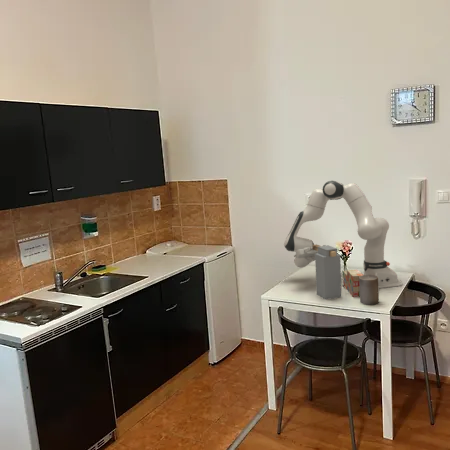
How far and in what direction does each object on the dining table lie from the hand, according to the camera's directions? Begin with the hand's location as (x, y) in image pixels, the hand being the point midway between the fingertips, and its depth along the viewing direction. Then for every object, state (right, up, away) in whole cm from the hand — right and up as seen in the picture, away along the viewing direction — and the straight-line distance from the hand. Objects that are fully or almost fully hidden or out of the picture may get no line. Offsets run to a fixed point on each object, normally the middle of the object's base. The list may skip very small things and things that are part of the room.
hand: (317, 247), depth 260 cm
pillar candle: (+23, -28, -21) cm, 42 cm away
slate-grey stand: (+5, -27, -7) cm, 28 cm away
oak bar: (+2, -3, -7) cm, 7 cm away
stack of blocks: (+20, -25, -1) cm, 33 cm away
